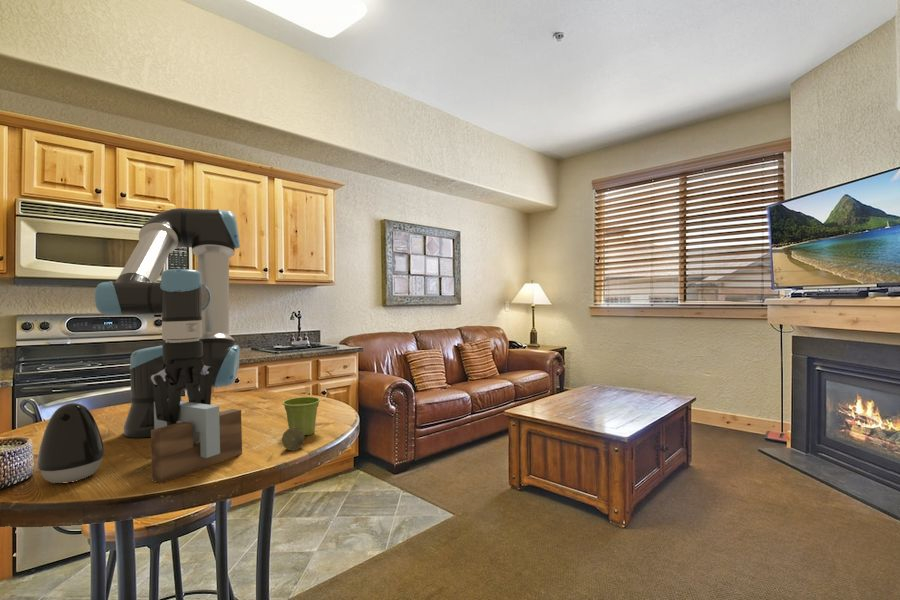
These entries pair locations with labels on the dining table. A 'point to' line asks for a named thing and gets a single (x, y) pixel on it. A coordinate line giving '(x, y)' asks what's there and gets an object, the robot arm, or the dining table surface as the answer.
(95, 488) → the dining table surface
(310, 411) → the plant pot
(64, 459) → the black two-tone rounded device
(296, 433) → the dark grey round lump
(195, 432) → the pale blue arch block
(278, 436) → the dining table surface
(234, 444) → the brown notched board
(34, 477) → the dining table surface
